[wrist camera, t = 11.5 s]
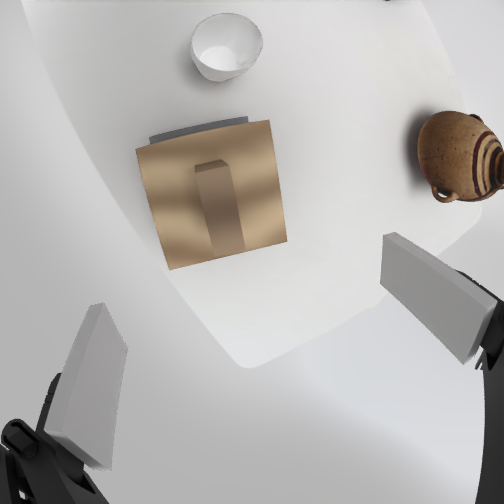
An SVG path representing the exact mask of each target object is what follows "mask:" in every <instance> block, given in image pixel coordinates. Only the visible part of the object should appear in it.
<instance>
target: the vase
mask: <svg viewBox="0 0 504 504" xmlns="http://www.w3.org/2000/svg"><path fill="white" fill-rule="evenodd" d="M417 153H418V160H419V164H420V168H421V171H422V173H423V175H424V177H425V178H426V180H427V181H428V183H429V184H430V185H431V188H432V194H433V196H434V197H435V199H436V200H438V201H439V202H442V203H449V202H452V201H454V200H459V201H466V202H475V201H481V200H484V199H487V198H489V197H491V196H492V195H493V194H495V193H496V191H498V190H499V189H504V151H503V148H502V145H501V143H500V142H499V140H498V138H497V137H496V136H495V134H494V133H493V132H492V131H491V130H490V129H489V128H488V127H487V126H486V125H485V124H484V122H483V121H482V119H481V118H480V117H479V116H477V115H475V114H470V115H467V114H464V113H461V112H456V111H443V112H439V113H436V114H434V115H432V116H431V117H430V118H429V119H428V120H427V121H426V122H425V123H424V125H423V126H422V128H421V130H420V133H419V137H418V143H417ZM438 193H441V194H443V195H445V196H447V197H446V198H444V197H441V196H439V195H438Z"/></svg>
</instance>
